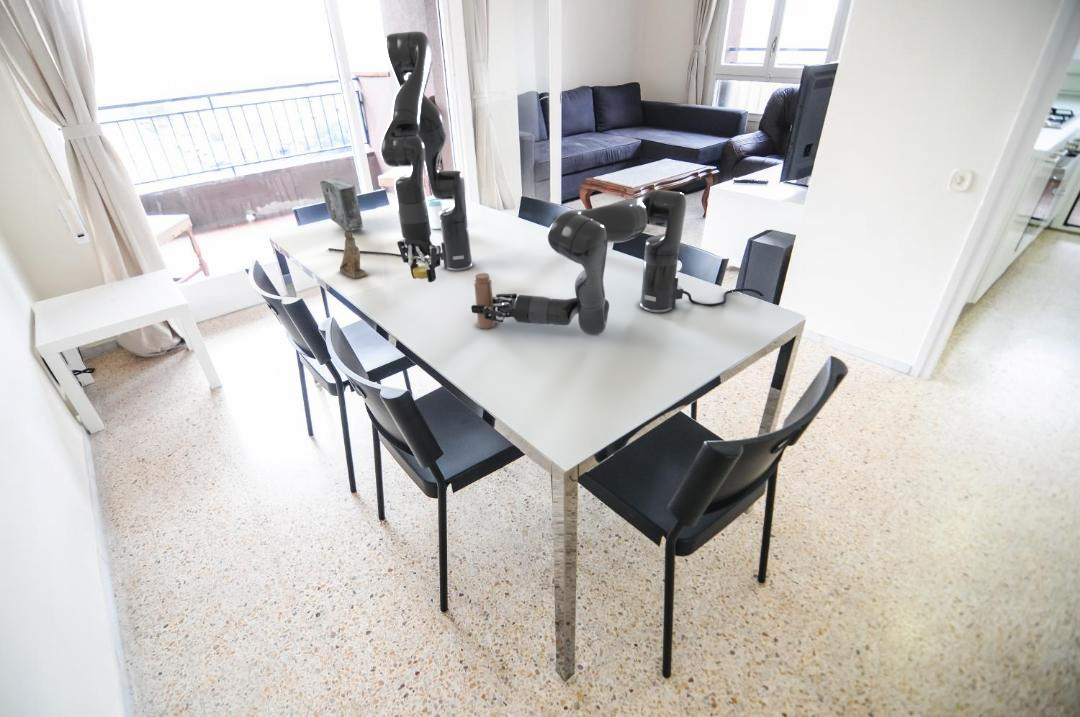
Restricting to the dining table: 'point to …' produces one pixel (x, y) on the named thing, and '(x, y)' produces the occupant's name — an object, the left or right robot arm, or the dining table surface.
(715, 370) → the dining table surface
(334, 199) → the concrete block
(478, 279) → the jar
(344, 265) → the worn brown figurine
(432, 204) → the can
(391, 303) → the dining table surface
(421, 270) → the lid
